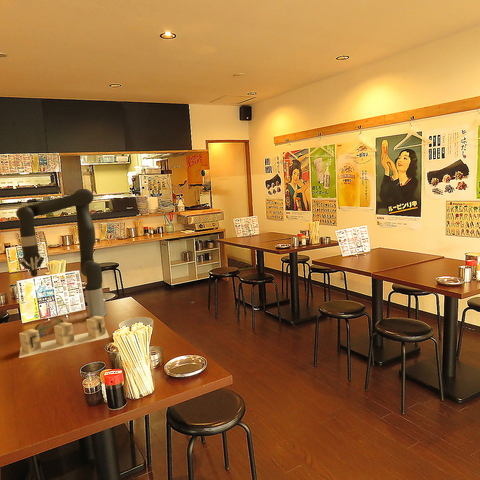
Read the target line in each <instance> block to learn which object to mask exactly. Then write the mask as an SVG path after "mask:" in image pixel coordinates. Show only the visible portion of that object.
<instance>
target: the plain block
mask: <svg viewBox="0 0 480 480" xmlns="http://www.w3.org/2000/svg"><path fill="white" fill-rule="evenodd" d="M54 331H55V333H54V336H55V338H54V339H55V340H56V344H60V345H66V344H69V343H71V342H73V341H75V340H74V335H75V334H74V327H73V323H71V322H66V321H64V322H63V323H61V324H58V325H56V326H54Z"/></svg>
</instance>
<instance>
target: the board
mask: <svg viewBox="0 0 480 480" xmlns="http://www.w3.org/2000/svg"><path fill="white" fill-rule="evenodd" d="M105 330H106V334H104V335H102V336H100V337H98V338H93V337H89V336H88V332H84V333H80V334H74V340H75V341H73V342H71V343H69V344H66V345H60V344H56V339H52V340H47V341H43V342H42V341H41V342H40V344H41V349H38V350H36V351H34V352H31V353H26V352H23V351H22V348H21V347H20V350H19V355H18V359H20V358H25V357H29V356H33V355H38V354H43V353H49V352H51V351H55V350H59V349H60V350H61V349H64V348H69V347H73V346H77V345H82V344H86V343H90V342H95V341H99V340H104V339H108V338H110V335H109V333H108V330H107V328H105Z"/></svg>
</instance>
